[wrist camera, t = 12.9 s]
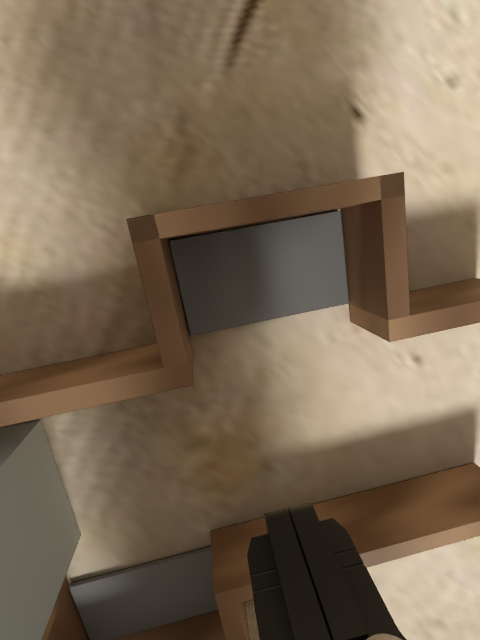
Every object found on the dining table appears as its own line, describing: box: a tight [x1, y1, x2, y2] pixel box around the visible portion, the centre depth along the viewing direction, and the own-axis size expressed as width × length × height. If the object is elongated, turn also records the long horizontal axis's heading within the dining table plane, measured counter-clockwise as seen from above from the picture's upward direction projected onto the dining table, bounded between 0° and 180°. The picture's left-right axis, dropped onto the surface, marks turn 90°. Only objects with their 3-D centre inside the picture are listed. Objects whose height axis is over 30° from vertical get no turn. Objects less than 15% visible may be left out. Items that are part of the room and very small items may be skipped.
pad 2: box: [170, 211, 349, 335], centre depth 14 cm, size 7×4×1 cm, turn 100°
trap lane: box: [0, 172, 480, 640], centre depth 13 cm, size 27×20×4 cm
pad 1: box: [69, 546, 218, 640], centre depth 16 cm, size 7×4×1 cm, turn 100°
